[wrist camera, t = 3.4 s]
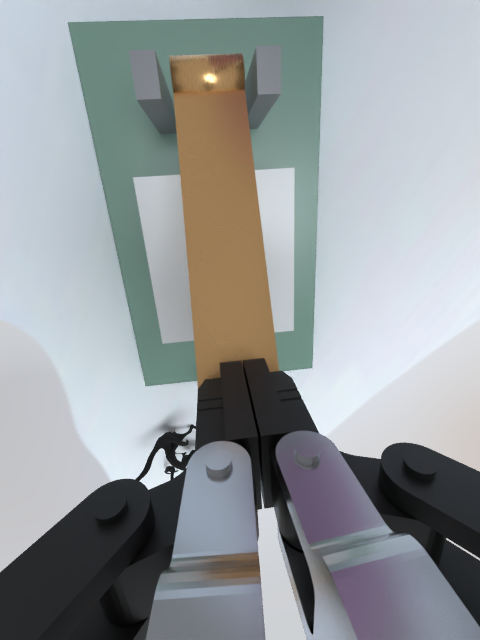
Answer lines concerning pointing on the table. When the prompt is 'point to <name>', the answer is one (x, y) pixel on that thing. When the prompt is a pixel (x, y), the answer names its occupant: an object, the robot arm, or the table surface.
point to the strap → (221, 214)
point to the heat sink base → (164, 171)
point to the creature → (170, 452)
